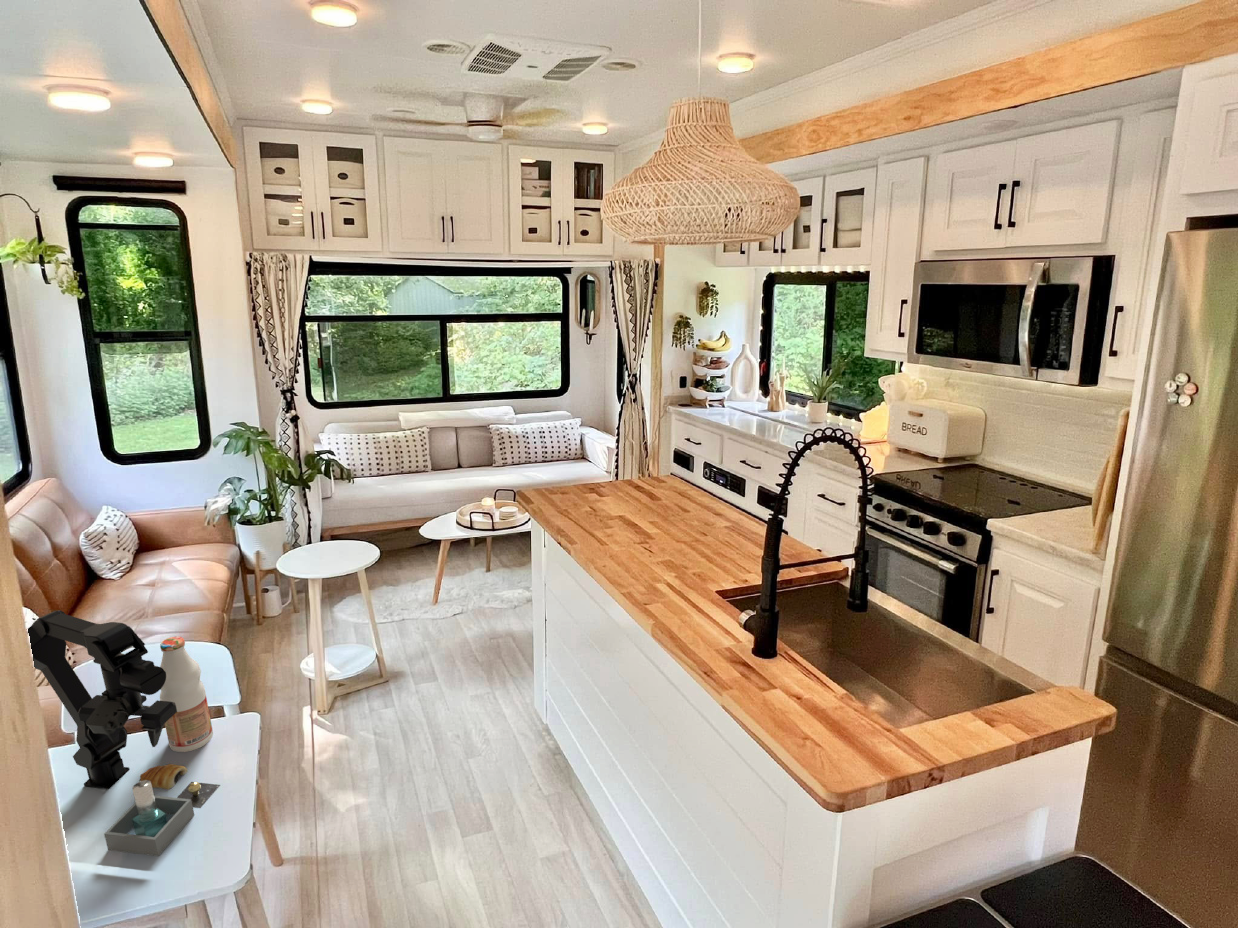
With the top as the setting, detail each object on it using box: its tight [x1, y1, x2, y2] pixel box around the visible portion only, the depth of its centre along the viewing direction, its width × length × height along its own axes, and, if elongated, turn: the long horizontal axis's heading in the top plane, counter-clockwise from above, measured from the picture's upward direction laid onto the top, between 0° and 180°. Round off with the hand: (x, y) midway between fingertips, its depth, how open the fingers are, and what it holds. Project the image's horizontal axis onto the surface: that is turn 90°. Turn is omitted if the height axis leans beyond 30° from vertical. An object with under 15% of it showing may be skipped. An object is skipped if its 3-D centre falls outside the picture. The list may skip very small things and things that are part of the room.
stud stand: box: [176, 781, 221, 809], centre depth 169 cm, size 7×7×4 cm
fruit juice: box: [159, 636, 214, 753], centre depth 182 cm, size 9×9×28 cm
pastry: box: [139, 763, 188, 790], centre depth 174 cm, size 9×7×4 cm
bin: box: [103, 795, 195, 857], centre depth 158 cm, size 11×11×5 cm
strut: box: [132, 780, 168, 837], centre depth 157 cm, size 4×4×12 cm
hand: (135, 743), depth 167 cm, fingers open, 9 cm apart
